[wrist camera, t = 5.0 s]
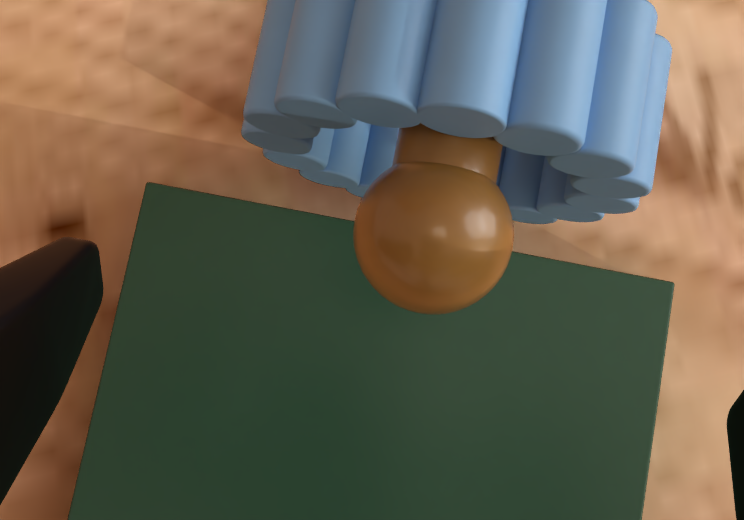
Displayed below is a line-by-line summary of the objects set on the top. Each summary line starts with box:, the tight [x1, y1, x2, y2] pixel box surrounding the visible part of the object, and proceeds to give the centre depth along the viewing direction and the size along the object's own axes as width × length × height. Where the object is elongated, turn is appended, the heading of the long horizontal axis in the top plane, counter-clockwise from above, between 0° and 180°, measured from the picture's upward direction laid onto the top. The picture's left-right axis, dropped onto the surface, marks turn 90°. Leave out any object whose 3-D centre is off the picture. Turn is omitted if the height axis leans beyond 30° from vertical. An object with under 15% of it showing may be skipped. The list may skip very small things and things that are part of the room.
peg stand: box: [353, 123, 514, 315], centre depth 16 cm, size 10×8×12 cm
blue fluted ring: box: [241, 0, 672, 224], centre depth 12 cm, size 2×7×7 cm, turn 79°
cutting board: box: [68, 182, 674, 520], centre depth 20 cm, size 14×15×2 cm
